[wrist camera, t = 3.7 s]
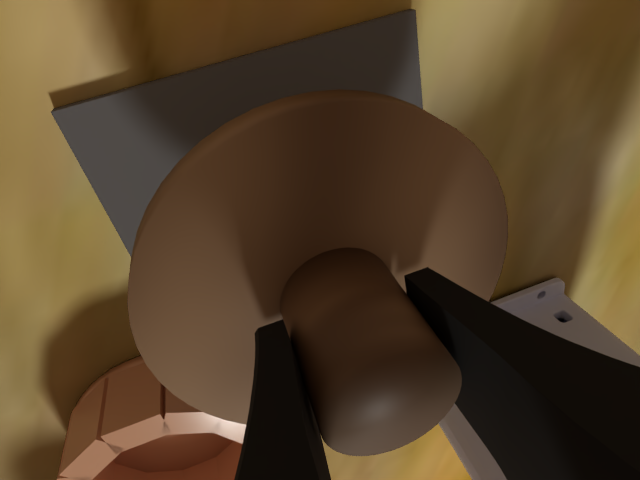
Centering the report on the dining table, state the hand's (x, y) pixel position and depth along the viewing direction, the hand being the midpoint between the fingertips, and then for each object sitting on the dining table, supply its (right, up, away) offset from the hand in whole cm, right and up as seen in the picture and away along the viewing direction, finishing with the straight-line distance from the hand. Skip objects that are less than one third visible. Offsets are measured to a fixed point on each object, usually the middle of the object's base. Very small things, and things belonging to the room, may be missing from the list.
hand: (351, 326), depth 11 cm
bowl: (-8, -7, +11) cm, 15 cm away
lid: (-1, +1, +2) cm, 2 cm away
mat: (-2, +4, +6) cm, 8 cm away
